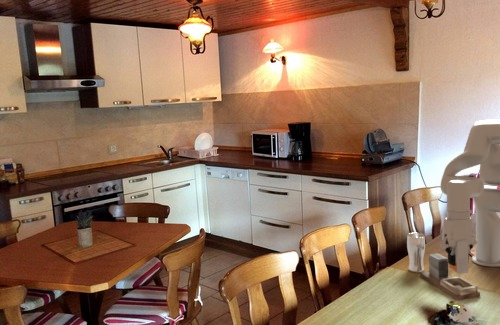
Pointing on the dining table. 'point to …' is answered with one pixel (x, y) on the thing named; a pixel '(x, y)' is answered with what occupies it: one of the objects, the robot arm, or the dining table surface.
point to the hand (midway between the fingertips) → (458, 263)
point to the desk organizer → (448, 279)
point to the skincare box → (461, 257)
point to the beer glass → (416, 251)
